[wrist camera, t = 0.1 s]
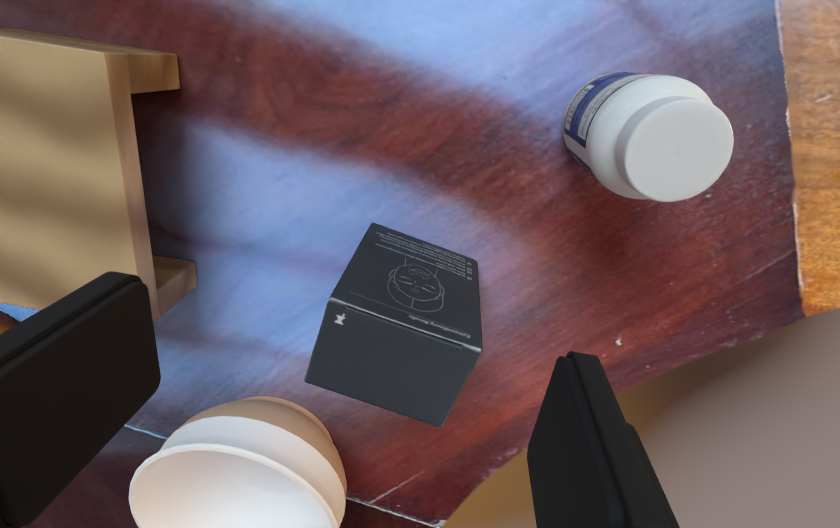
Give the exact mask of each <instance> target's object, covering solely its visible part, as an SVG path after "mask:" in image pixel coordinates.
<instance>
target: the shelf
mask: <svg viewBox="0 0 840 528" xmlns="http://www.w3.org/2000/svg"><path fill="white" fill-rule="evenodd" d="M175 89H180V82H179V71H178V59H177V55H176V54H173V53H167V52H160V51H154V50H148V49H141V48H135V47H128V46H122V45H116V44H109V43H103V42H97V41H90V40H84V39H77V38H71V37H65V36H58V35H52V34H45V33H39V32H33V31H26V30H20V29H5V28H0V303H5V304H11V305H16V306H22V307H27V308H33V309H39V310H42V309H44V308H46V307H48V306H49V305H51V304H53V303H54V302H56V301H58V300H60V299H61V298H63V297H65V296H66V295H68V294H70V293H71V292H73V291H75V290H77V289H78V288H80V287H82V286H83V285H85V284H87V283H89V282H90V281H92V280H94V279H95V278H97V277H99V276H101V275H102V274H104V273H106V272H109V271H114V272H120V273H126V274H132V275H137V276H138V277H140V278H141V280H142V282H143V283H144V284H146V285H147V287H148V290H149V297H150V304H151V312H152V319H153V322H154V321H155V320H157V319H158V318H159V317H160V316H161V315H163V314H164V313H165V312H166V311H167V310H169V309H170V308H171V307H172V306H173V305H175V304H176V303H177V302H178V301H179V300H181V299H182V298H183V297H184V296H185V295H187V294H188V293H189V292H190V291H191V290H193V289H194V288H195V287H196V286H197V274H196V263H195V262H192V261H186V260H180V259H174V258H168V257H163V256H157V255H152V252H151V244H150V237H149V229H148V222H147V214H146V207H145V199H144V192H143V184H142V177H141V169H140V162H139V154H138V147H137V139H136V132H135V124H134V117H133V109H132V102H131V94H136V93H145V92H155V91H165V90H175Z"/></svg>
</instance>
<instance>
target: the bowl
mask: <svg viewBox="0 0 840 528" xmlns="http://www.w3.org/2000/svg"><path fill="white" fill-rule="evenodd" d="M346 490H347V483H346V477H345V472H344V468H343V464H342V461H341V458H340V456H339V454H338V451H337V449H336V448H335V446H334V445H333V441H332V439H331V436H330V434H329V432H328V430H327V429H326V428H325V426H324V425H323V423H322V422H321V421H320V420H319V419H318V418H317V417H316V416H315V415H313V414H312V413H311V412H309V411H308V410H306V409H305V408H303V407H301V406H299V405H297V404H295V403H293V402H290V401H287V400H285V399H281V398H276V397H271V396H254V397H247V398H244V399H241V400H238V401H234V402H226V403H223V404H220V405H217V406H215V407H212V408H210V409H207V410H205V411H202V412H200V413H198V414H197V415H195V416H194V417H192V418H190V419H189V420H187V421H186V422H185V423H184V424H183V425H182V426H181V427H180V428H179V429H178V430H176V431H175V432H174V433H173V434H172V435H171V436H170V437H169V438H168V439H167V441H166V442H165V443H164V445H163V446H162V448H161V449H160V451H159V452H157V453H156V454H154V455H153V456H151V457H149V458H148V459H146V460H145V461H144V462H143V463H142V464H141V465H140V466H139V468H138V469H137V470H136V472H135V474H134V476H133V478H132V481H131V483H130V490H129V503H130V508H131V513H132V515H133V517H134V519H135V521H136V524H137V526H138V527H139V528H339V527H340V524H341V521H342V519H343V516H344V512H345V503H346V501H345V499H346Z"/></svg>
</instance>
